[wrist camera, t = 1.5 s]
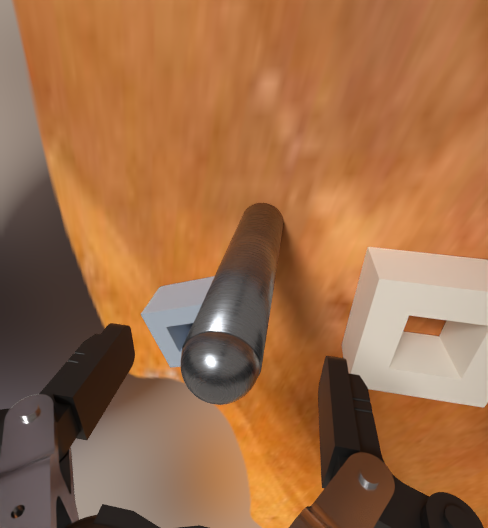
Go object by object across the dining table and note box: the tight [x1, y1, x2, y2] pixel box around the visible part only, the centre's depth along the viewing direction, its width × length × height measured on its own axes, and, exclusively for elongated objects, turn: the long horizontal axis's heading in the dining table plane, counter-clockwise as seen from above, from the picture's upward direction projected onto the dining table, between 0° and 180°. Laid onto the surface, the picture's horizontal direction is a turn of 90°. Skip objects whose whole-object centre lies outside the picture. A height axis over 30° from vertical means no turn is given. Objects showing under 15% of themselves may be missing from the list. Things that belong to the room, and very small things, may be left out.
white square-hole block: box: [342, 247, 488, 408], centre depth 24 cm, size 10×10×4 cm
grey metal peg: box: [181, 203, 283, 405], centre depth 18 cm, size 3×3×16 cm
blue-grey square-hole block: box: [141, 276, 215, 367], centre depth 28 cm, size 6×6×4 cm
